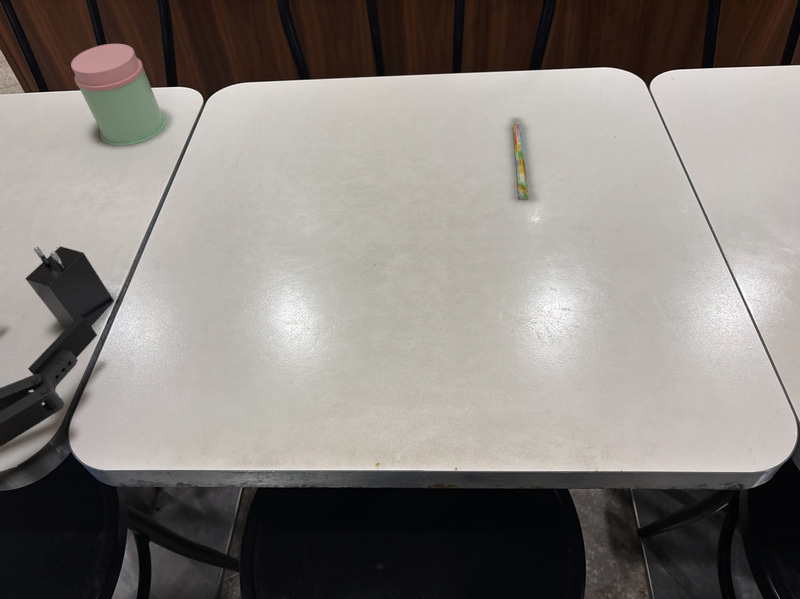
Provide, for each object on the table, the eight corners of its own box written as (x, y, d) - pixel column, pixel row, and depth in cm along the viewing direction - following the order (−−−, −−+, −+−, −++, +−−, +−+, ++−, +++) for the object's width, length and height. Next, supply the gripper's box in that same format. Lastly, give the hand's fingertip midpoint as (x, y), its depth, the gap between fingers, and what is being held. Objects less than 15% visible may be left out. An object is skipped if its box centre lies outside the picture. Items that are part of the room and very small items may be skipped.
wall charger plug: (63, 328, 65) (12, 263, 58) (94, 296, 68) (49, 230, 61) (85, 335, 64) (37, 270, 57) (116, 303, 67) (74, 236, 60)
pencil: (511, 122, 87) (518, 200, 75) (511, 115, 86) (518, 193, 74) (520, 122, 86) (528, 200, 75) (520, 115, 86) (529, 193, 74)
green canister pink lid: (89, 145, 89) (51, 73, 81) (122, 110, 96) (90, 40, 87) (148, 150, 88) (116, 77, 79) (178, 113, 94) (151, 42, 85)
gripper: (-222, 471, 53) (-31, 302, 66) (-22, 575, 46) (149, 363, 59) (-301, 429, 47) (-76, 254, 60) (-87, 541, 40) (118, 315, 53)
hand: (36, 307), depth 59 cm, fingers open, 13 cm apart
